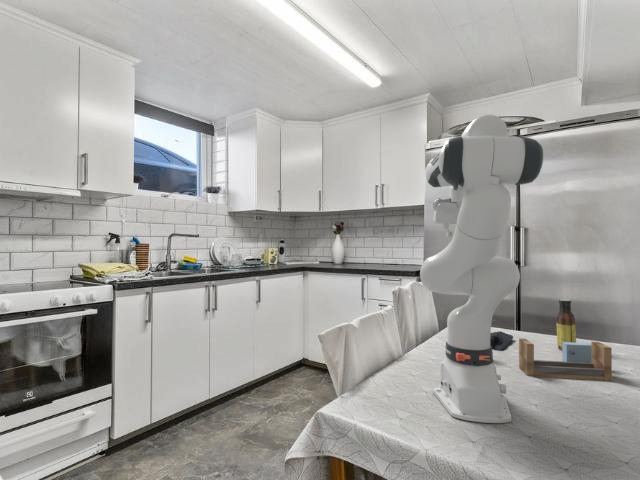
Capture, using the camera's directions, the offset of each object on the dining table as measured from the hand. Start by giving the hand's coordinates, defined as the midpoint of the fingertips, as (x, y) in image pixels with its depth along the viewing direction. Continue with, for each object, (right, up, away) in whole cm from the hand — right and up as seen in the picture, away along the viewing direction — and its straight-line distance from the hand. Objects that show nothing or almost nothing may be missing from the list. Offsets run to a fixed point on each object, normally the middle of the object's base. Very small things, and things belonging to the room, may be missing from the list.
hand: (462, 236), depth 129 cm
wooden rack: (+27, -45, -13) cm, 54 cm away
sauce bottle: (+46, -45, +13) cm, 66 cm away
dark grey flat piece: (+22, -46, +24) cm, 56 cm away
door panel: (+38, -45, -7) cm, 59 cm away
